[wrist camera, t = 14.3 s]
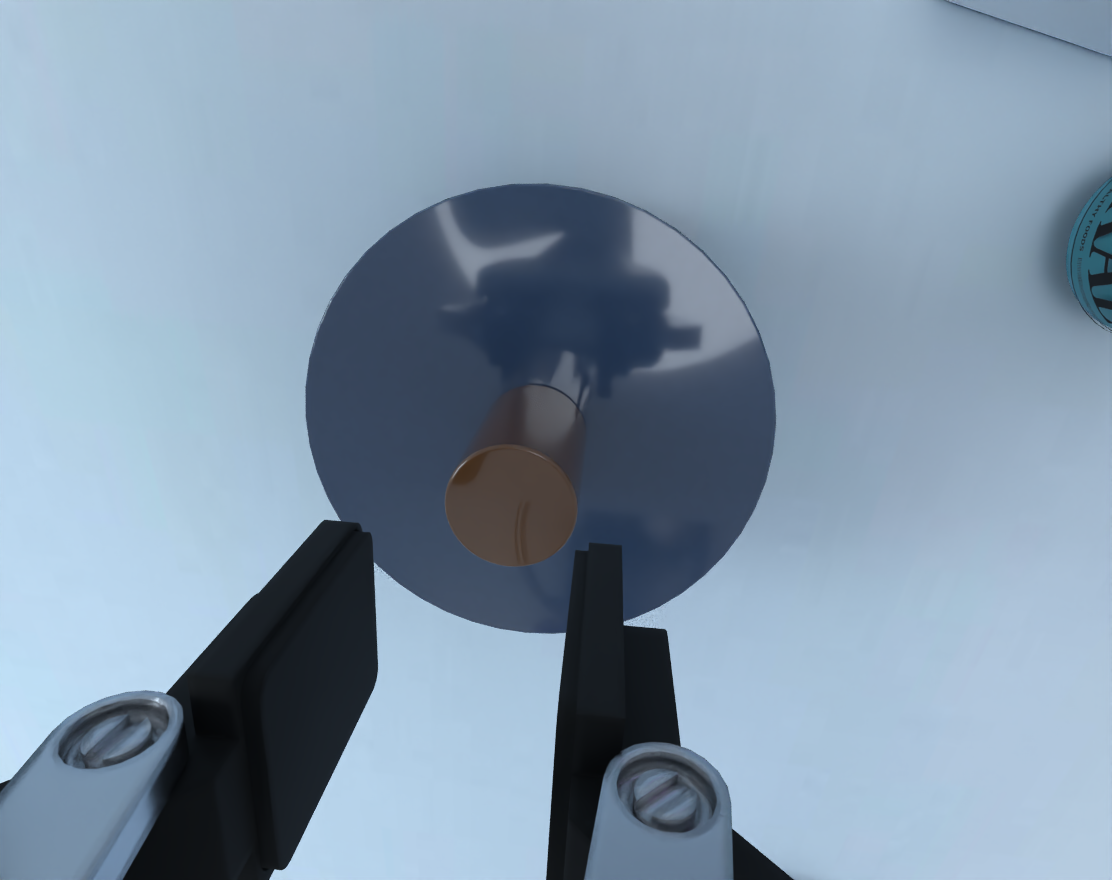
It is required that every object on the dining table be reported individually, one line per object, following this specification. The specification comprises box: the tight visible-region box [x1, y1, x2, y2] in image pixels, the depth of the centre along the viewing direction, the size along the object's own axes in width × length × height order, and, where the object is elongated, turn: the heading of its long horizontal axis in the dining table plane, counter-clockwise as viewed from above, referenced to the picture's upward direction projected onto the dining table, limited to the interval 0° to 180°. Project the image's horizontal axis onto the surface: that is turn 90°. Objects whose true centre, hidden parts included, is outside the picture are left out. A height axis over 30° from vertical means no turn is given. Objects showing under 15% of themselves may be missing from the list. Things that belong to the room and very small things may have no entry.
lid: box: [306, 184, 776, 634], centre depth 18 cm, size 14×14×6 cm
